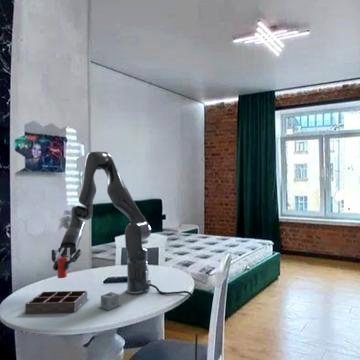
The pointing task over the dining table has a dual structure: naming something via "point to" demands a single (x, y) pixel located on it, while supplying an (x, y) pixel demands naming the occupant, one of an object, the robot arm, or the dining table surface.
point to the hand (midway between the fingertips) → (60, 269)
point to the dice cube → (109, 301)
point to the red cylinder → (61, 267)
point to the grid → (56, 302)
